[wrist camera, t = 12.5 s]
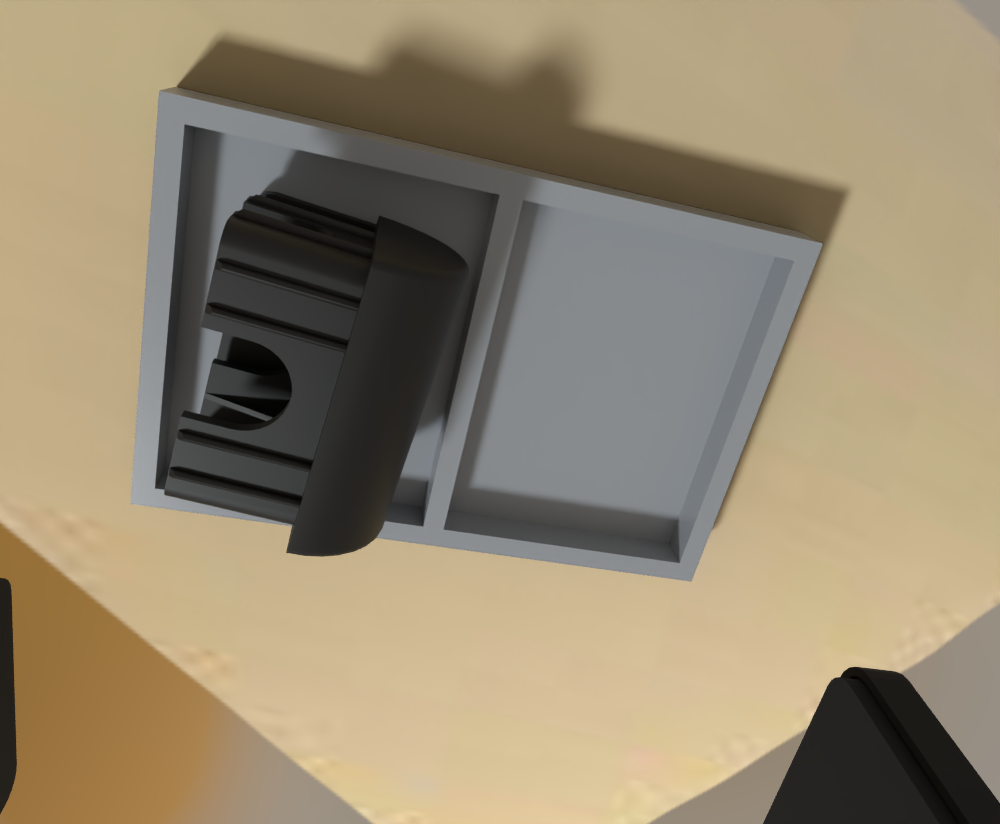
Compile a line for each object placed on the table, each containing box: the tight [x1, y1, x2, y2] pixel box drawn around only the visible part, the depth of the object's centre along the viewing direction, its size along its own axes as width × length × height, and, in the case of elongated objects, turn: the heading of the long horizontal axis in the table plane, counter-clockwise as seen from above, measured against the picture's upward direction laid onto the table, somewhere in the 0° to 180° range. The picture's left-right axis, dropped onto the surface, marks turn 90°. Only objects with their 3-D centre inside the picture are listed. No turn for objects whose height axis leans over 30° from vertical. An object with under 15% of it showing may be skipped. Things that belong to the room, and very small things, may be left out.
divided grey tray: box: [131, 87, 823, 581], centre depth 31 cm, size 22×15×2 cm, turn 77°
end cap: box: [164, 191, 469, 556], centre depth 27 cm, size 10×7×7 cm
